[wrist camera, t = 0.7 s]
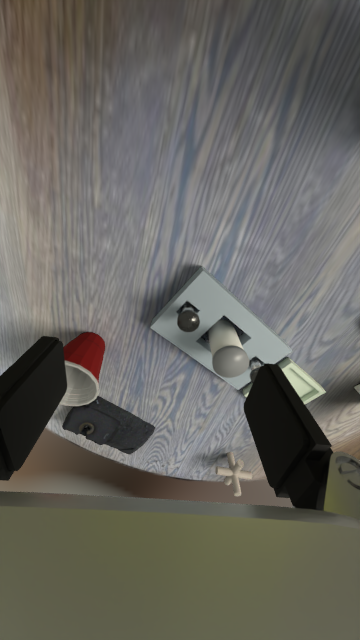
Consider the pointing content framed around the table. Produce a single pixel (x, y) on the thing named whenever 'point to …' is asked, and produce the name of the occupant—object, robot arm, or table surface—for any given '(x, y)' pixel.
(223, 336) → the cartridge
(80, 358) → the plastic cup
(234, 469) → the pipe connector
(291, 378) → the tray
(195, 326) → the plunger
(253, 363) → the plunger
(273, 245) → the table surface
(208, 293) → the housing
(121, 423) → the dark slate chunk
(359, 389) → the milk carton
